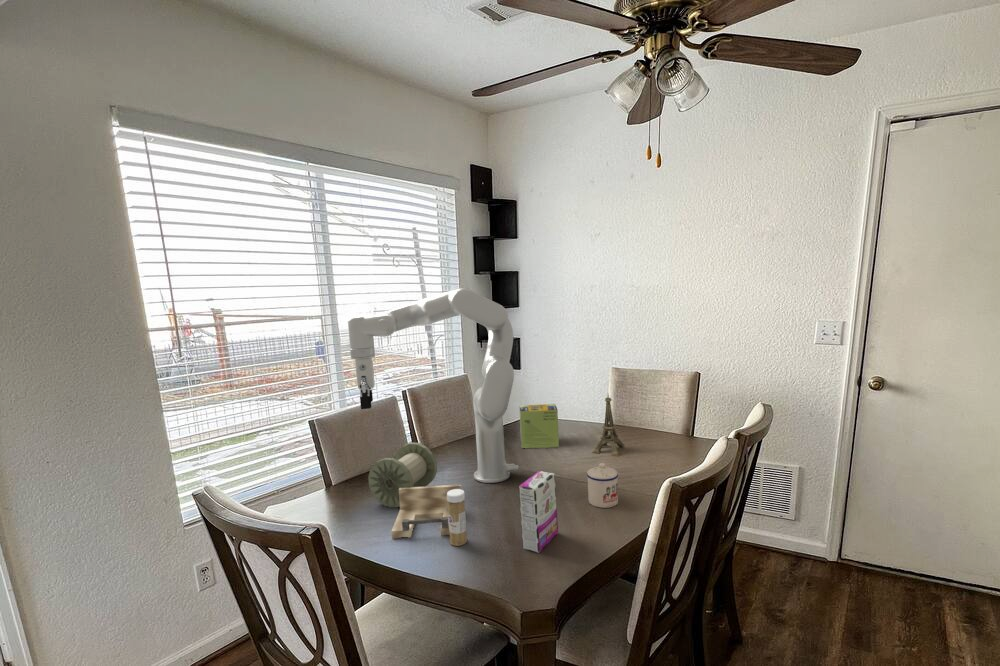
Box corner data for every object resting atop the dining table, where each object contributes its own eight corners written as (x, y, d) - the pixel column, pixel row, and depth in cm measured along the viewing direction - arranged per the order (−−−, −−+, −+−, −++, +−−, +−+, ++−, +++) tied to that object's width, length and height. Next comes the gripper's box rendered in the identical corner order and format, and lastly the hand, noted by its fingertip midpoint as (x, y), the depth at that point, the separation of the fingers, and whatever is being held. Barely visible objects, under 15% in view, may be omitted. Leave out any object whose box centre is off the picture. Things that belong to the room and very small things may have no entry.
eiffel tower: (627, 448, 189) (625, 385, 187) (618, 457, 181) (616, 391, 178) (601, 445, 195) (599, 384, 193) (591, 453, 186) (589, 389, 184)
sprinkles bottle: (446, 543, 125) (442, 492, 124) (458, 535, 128) (455, 486, 127) (458, 548, 122) (455, 497, 121) (471, 540, 125) (468, 490, 124)
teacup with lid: (607, 511, 137) (605, 472, 136) (581, 502, 144) (580, 464, 143) (630, 498, 146) (629, 460, 144) (605, 489, 152) (603, 453, 151)
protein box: (559, 447, 195) (558, 409, 194) (521, 449, 195) (519, 411, 194) (556, 439, 205) (555, 403, 204) (520, 441, 206) (518, 405, 204)
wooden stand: (462, 510, 143) (460, 484, 142) (459, 534, 129) (457, 505, 128) (401, 514, 143) (399, 488, 142) (391, 538, 128) (389, 509, 128)
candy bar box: (541, 529, 130) (539, 469, 128) (558, 533, 127) (556, 472, 125) (521, 549, 120) (517, 485, 119) (539, 554, 117) (535, 488, 116)
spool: (412, 510, 145) (409, 461, 144) (370, 504, 150) (366, 457, 149) (438, 488, 161) (435, 444, 159) (399, 483, 166) (396, 441, 165)
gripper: (373, 355, 149) (378, 410, 150) (375, 349, 166) (379, 398, 167) (348, 357, 147) (352, 412, 149) (352, 351, 164) (357, 400, 166)
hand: (367, 405), depth 158 cm, fingers open, 9 cm apart
